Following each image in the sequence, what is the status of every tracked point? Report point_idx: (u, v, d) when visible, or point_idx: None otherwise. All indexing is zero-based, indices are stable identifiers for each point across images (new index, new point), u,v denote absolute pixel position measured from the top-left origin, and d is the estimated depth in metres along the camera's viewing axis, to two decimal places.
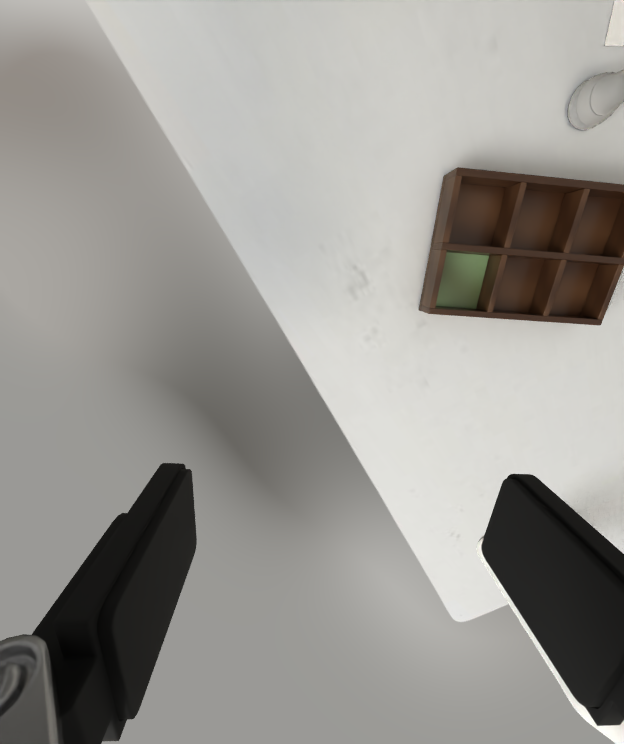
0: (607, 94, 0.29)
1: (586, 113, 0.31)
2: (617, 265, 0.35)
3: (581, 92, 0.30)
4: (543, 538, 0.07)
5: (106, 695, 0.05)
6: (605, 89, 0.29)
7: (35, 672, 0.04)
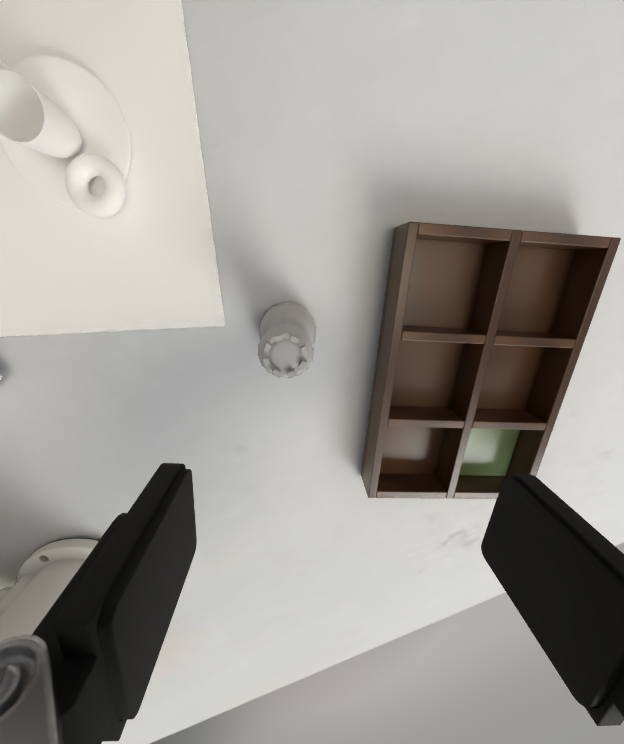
0: None
1: None
2: (520, 242, 0.20)
3: None
4: (543, 538, 0.07)
5: (106, 695, 0.05)
6: None
7: (35, 672, 0.04)
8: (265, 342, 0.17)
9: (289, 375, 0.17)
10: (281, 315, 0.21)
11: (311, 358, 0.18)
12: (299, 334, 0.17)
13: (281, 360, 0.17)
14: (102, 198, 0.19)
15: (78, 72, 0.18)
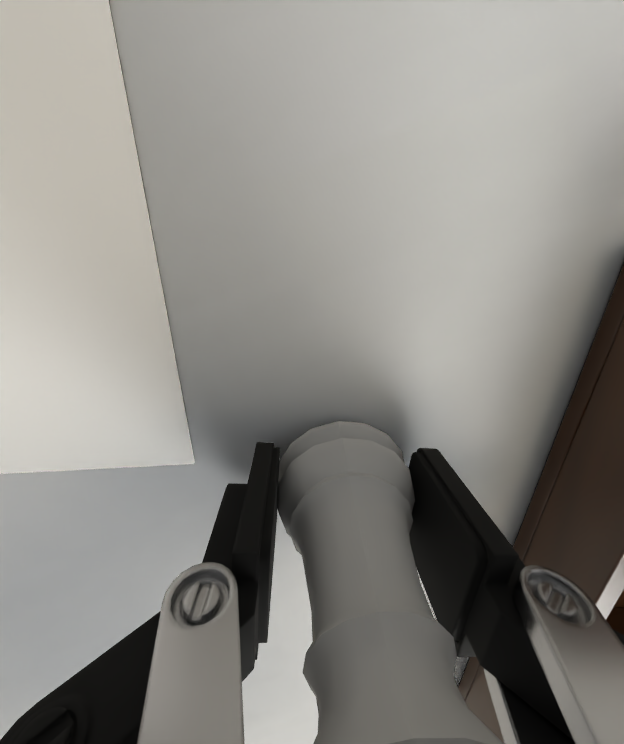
0: None
1: None
2: None
3: None
4: (431, 501, 0.08)
5: (257, 617, 0.06)
6: None
7: (228, 586, 0.05)
8: None
9: None
10: (339, 486, 0.08)
11: None
12: None
13: None
14: None
15: None
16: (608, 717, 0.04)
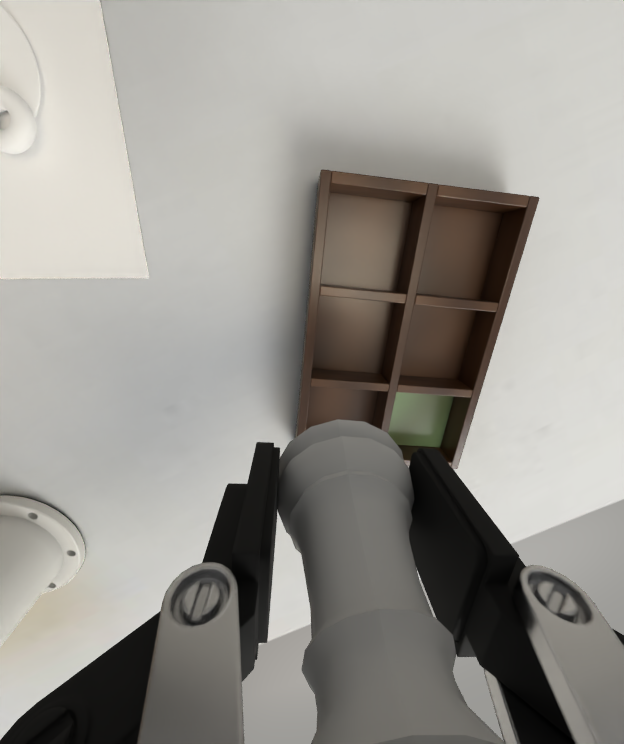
0: None
1: None
2: (437, 196, 0.20)
3: None
4: (431, 501, 0.08)
5: (257, 617, 0.06)
6: None
7: (228, 586, 0.05)
8: None
9: None
10: (338, 484, 0.08)
11: None
12: None
13: None
14: (8, 132, 0.19)
15: None
16: (608, 717, 0.04)
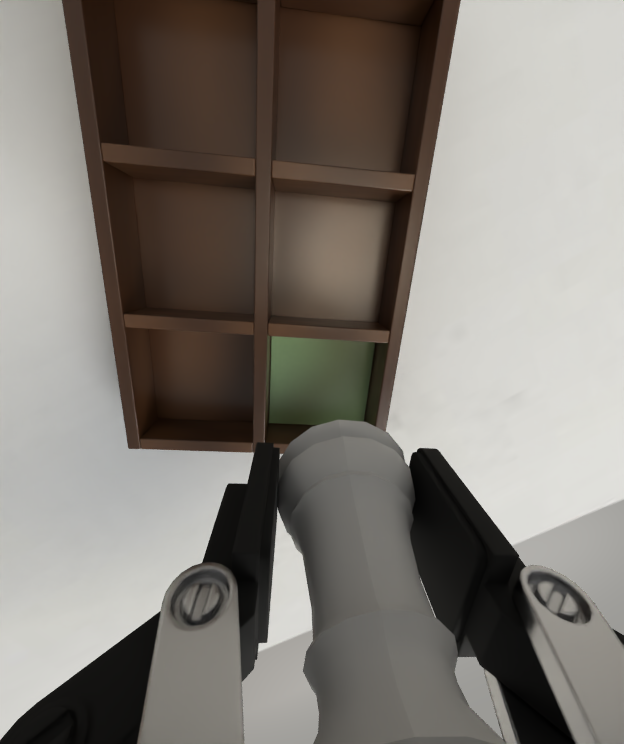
0: None
1: None
2: None
3: None
4: (431, 501, 0.08)
5: (257, 617, 0.06)
6: None
7: (228, 586, 0.05)
8: None
9: None
10: (339, 485, 0.08)
11: None
12: None
13: None
14: None
15: None
16: (608, 717, 0.04)
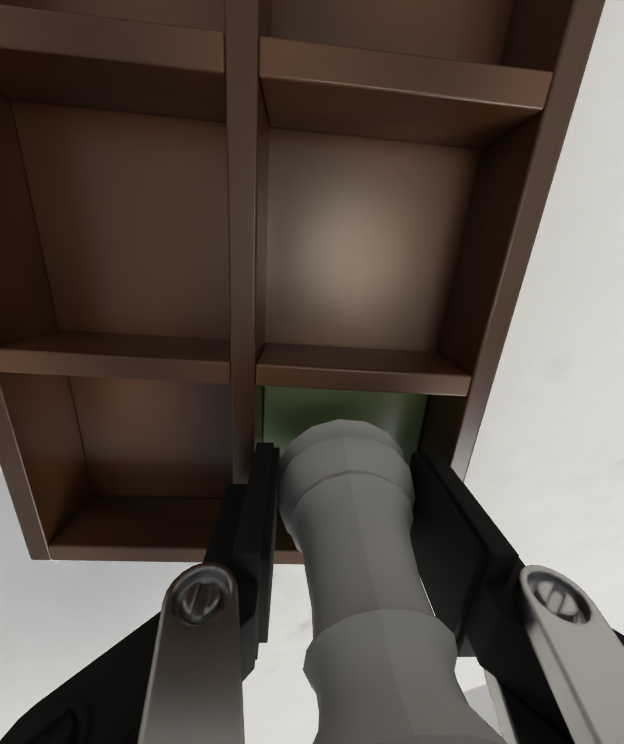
0: None
1: None
2: None
3: None
4: (430, 501, 0.08)
5: (257, 617, 0.06)
6: None
7: (229, 586, 0.05)
8: None
9: None
10: (339, 484, 0.08)
11: None
12: None
13: None
14: None
15: None
16: (608, 717, 0.04)
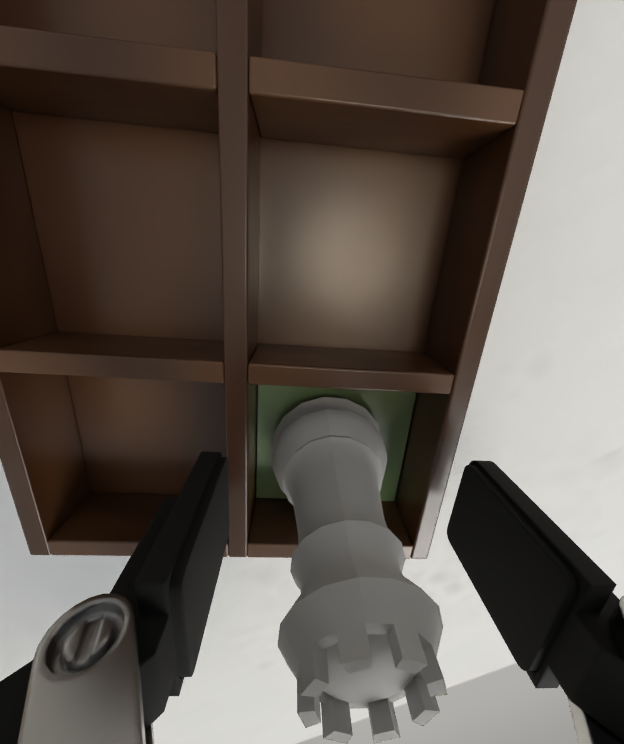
0: None
1: None
2: None
3: None
4: (495, 518, 0.08)
5: (173, 651, 0.06)
6: None
7: (124, 623, 0.05)
8: (304, 643, 0.05)
9: (379, 739, 0.05)
10: (322, 445, 0.10)
11: None
12: (414, 613, 0.05)
13: (354, 690, 0.05)
14: None
15: None
16: None
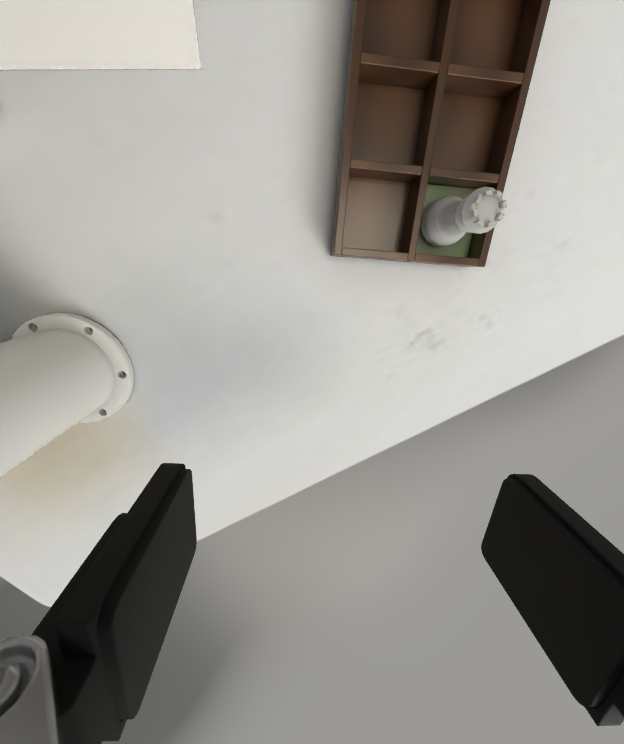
0: (464, 231, 0.27)
1: (462, 235, 0.29)
2: None
3: (440, 243, 0.29)
4: (543, 538, 0.07)
5: (106, 695, 0.05)
6: (458, 233, 0.27)
7: (36, 672, 0.04)
8: (473, 198, 0.23)
9: (489, 224, 0.23)
10: (452, 200, 0.27)
11: None
12: None
13: (483, 213, 0.23)
14: None
15: None
16: None
